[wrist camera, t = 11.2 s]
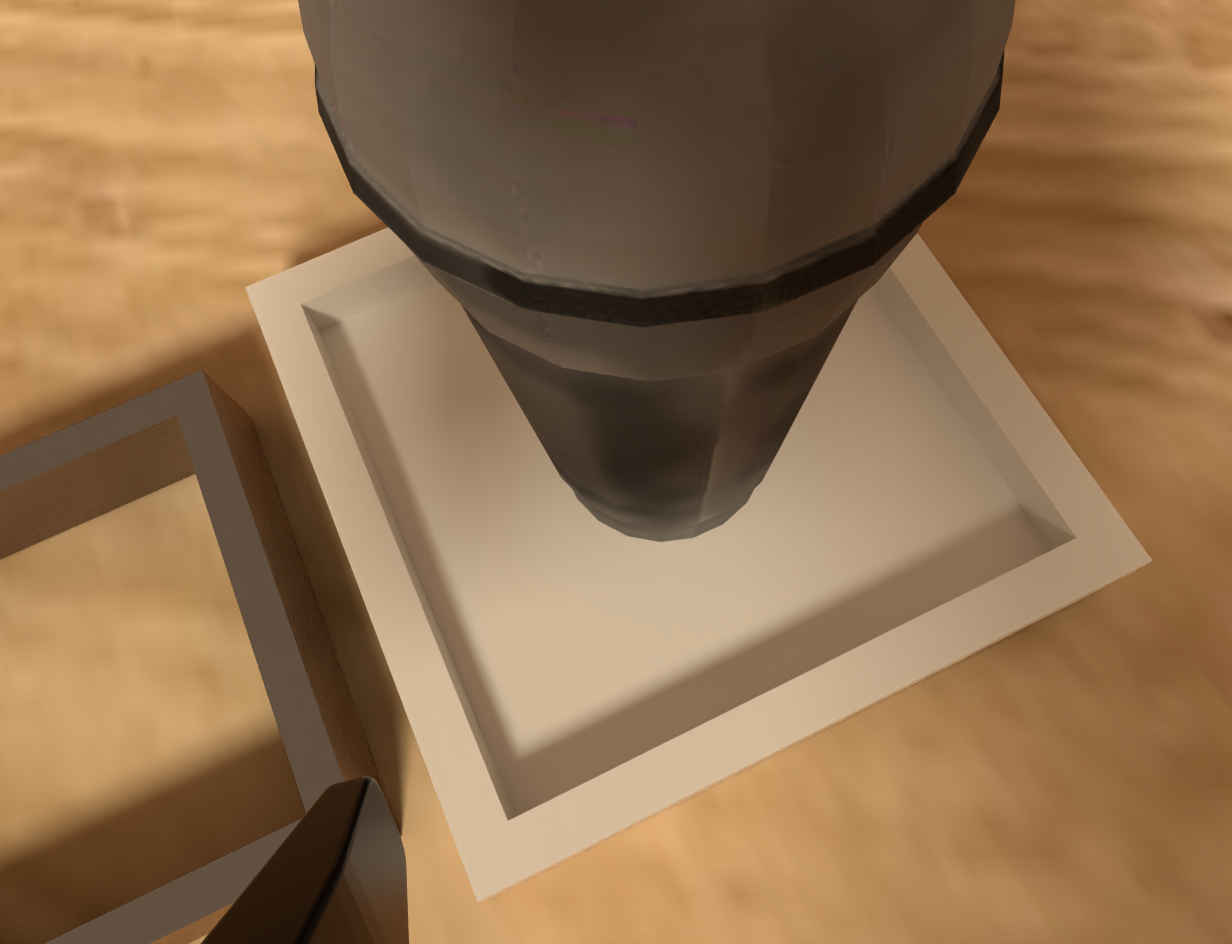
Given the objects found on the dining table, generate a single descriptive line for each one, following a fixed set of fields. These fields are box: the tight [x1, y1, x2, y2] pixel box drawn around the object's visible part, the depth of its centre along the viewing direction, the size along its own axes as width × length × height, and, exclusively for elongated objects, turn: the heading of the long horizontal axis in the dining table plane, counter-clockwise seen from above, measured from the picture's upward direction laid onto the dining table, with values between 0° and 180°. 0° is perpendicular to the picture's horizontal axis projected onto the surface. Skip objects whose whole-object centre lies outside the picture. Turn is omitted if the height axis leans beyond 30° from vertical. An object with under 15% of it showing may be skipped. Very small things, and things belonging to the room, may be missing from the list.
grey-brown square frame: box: [0, 370, 401, 944], centre depth 19 cm, size 10×10×2 cm
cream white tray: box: [245, 227, 1152, 902], centre depth 21 cm, size 14×14×2 cm
